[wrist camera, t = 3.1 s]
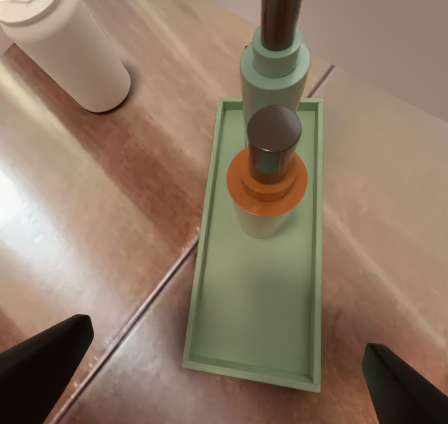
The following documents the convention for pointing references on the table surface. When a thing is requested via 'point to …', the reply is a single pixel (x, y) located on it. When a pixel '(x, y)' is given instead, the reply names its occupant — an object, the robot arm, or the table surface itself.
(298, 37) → the celadon bottle
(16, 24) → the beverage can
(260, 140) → the amber bottle
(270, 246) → the tray
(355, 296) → the table surface
